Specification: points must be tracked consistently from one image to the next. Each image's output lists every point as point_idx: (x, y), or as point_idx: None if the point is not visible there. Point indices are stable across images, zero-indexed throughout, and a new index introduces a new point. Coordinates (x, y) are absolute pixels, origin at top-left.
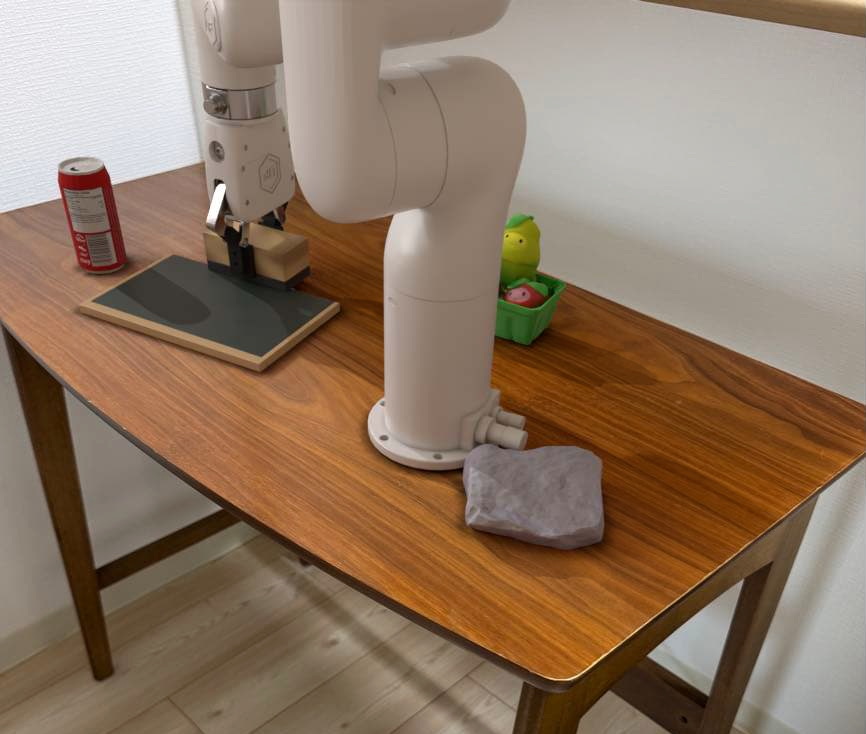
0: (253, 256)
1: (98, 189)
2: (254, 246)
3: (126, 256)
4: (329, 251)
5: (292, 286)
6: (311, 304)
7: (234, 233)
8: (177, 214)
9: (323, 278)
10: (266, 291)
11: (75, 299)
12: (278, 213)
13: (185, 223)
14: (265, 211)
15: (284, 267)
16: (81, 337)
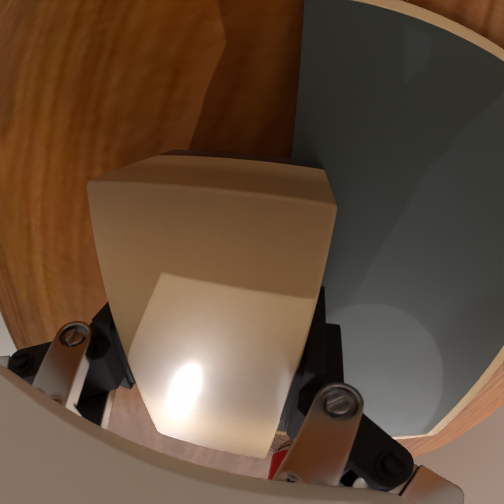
0: (312, 334)
1: None
2: (298, 361)
3: (285, 452)
4: (54, 201)
5: (281, 157)
6: (363, 48)
7: (373, 456)
8: (141, 423)
9: (146, 132)
10: (343, 224)
11: (399, 441)
12: (72, 367)
13: (150, 417)
14: (203, 497)
15: (323, 182)
16: (489, 395)
